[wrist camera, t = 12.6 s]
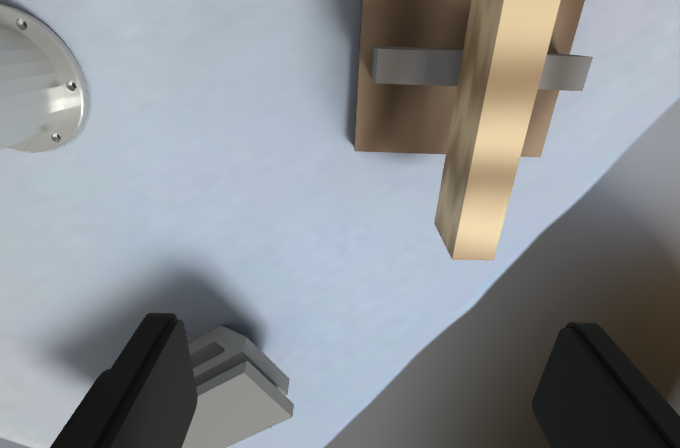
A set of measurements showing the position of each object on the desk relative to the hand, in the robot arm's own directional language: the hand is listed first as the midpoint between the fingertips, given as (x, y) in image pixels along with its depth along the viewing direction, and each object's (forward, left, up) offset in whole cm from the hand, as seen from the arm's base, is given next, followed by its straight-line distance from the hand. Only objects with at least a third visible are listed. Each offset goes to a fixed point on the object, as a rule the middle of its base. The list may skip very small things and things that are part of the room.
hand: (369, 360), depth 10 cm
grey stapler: (-17, -33, -31) cm, 48 cm away
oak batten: (+10, +5, -24) cm, 26 cm away
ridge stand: (+10, +5, -30) cm, 32 cm away
